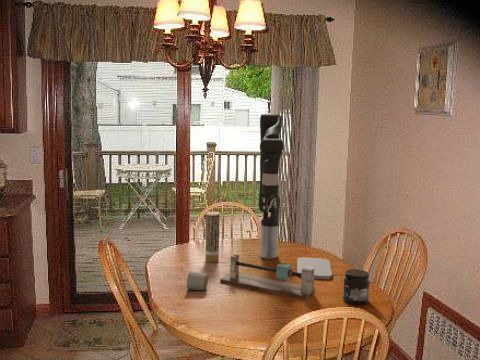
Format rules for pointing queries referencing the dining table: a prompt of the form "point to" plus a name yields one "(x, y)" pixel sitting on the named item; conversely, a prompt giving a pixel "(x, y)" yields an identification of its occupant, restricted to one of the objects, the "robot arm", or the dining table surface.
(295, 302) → the dining table surface
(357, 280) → the supplement container
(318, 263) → the tablet
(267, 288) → the stand
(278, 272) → the sleeve
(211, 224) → the paper tube
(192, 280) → the ceramic mug
